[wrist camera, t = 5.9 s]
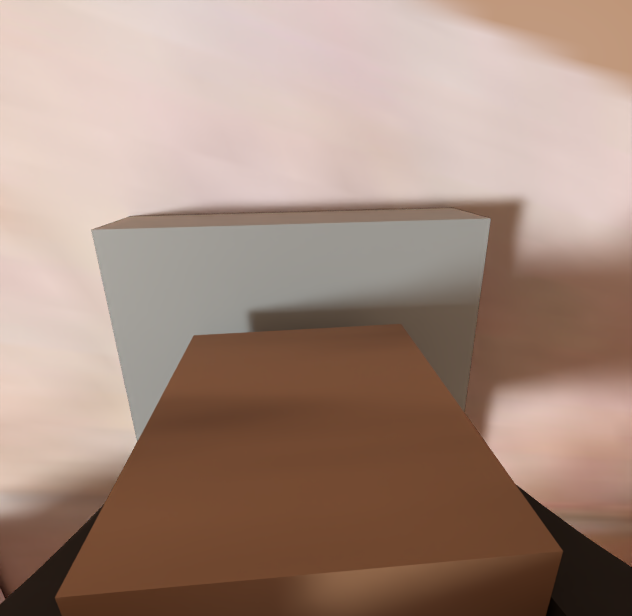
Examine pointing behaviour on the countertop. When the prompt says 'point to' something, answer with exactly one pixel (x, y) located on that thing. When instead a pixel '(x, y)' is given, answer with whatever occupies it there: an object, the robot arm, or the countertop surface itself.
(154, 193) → the countertop surface
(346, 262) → the block
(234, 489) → the walnut block
